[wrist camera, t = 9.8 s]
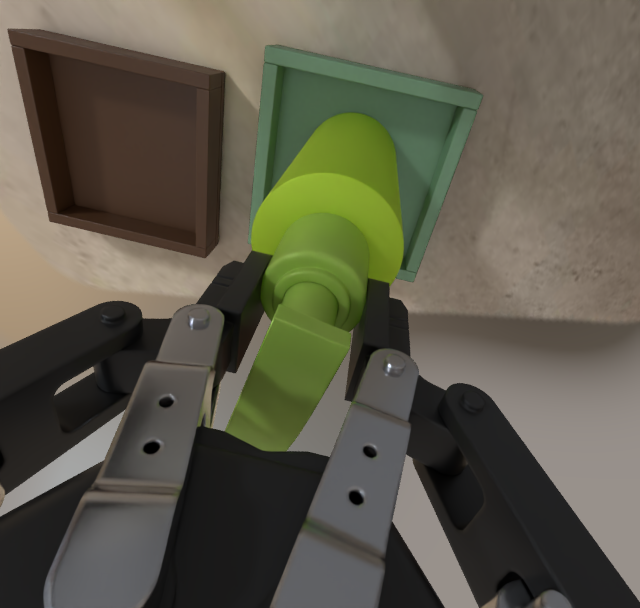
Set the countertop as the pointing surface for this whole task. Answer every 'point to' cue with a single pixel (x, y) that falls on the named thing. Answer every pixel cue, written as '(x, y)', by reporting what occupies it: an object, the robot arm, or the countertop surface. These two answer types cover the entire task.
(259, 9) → the countertop surface
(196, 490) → the robot arm
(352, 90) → the green tray
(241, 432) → the soap dispenser
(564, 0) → the countertop surface
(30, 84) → the walnut tray
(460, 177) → the countertop surface
